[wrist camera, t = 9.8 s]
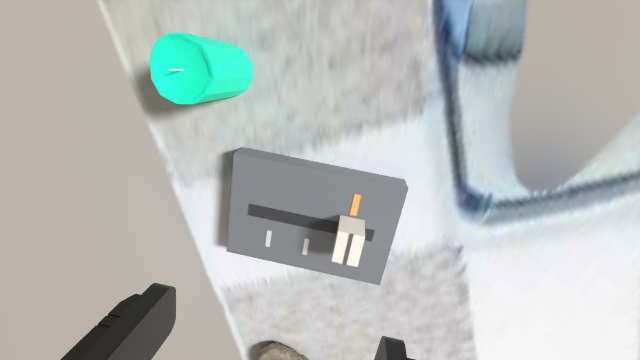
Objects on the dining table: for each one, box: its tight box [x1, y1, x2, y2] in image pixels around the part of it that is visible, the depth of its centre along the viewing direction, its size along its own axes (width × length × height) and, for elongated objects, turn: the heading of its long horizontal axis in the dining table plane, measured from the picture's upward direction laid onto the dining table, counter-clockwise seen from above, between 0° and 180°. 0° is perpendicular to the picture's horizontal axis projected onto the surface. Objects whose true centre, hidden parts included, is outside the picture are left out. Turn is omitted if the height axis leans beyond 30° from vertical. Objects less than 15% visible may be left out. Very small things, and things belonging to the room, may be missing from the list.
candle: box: [149, 33, 253, 104], centre depth 31 cm, size 6×6×12 cm
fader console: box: [227, 147, 408, 285], centre depth 40 cm, size 14×21×3 cm, turn 80°
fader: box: [332, 215, 365, 267], centre depth 36 cm, size 4×3×4 cm
